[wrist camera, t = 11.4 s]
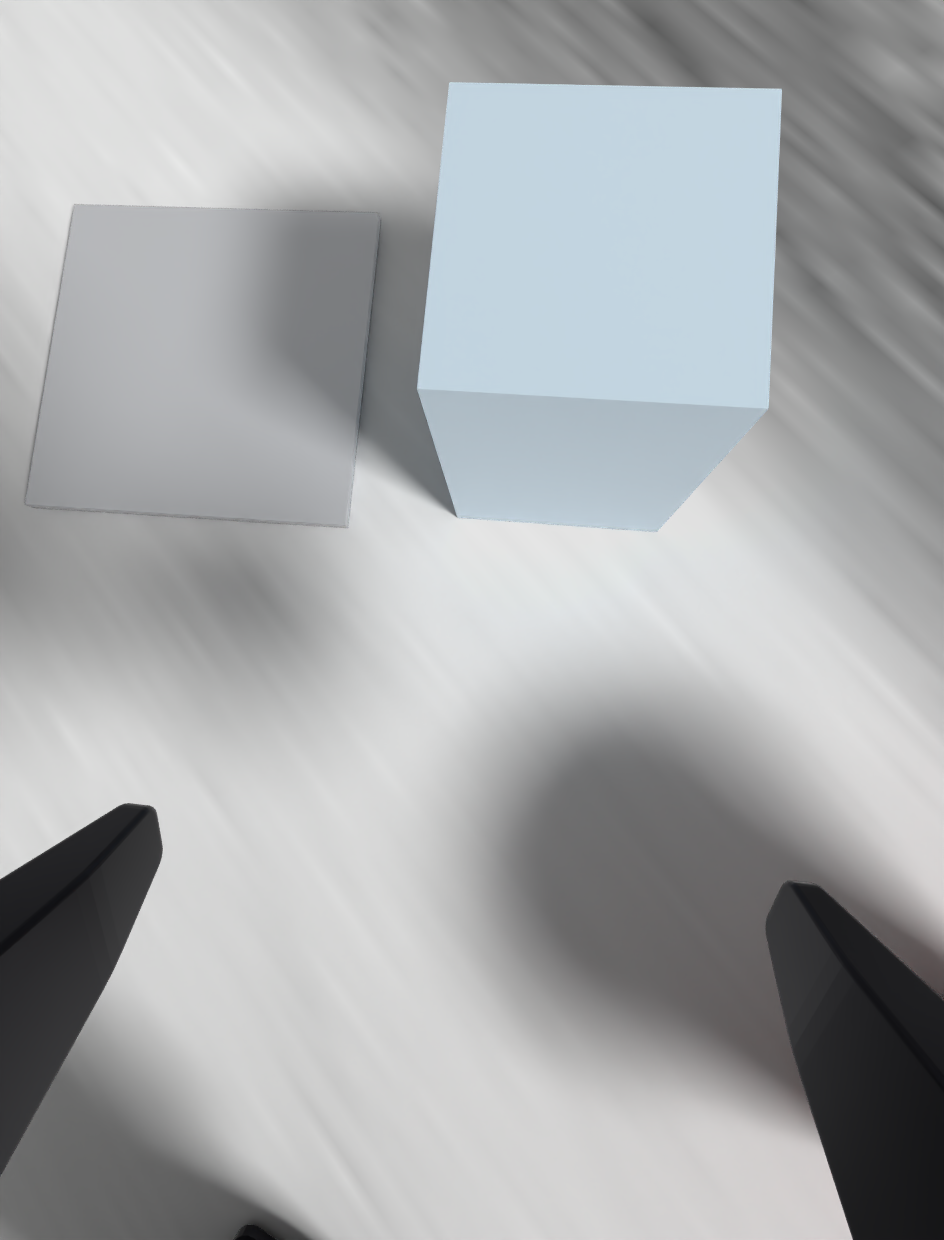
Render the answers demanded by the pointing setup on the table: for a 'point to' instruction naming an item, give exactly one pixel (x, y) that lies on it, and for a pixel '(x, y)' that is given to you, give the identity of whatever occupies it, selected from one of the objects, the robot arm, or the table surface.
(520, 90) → the light blue block
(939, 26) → the table surface
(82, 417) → the mat
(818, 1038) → the robot arm
